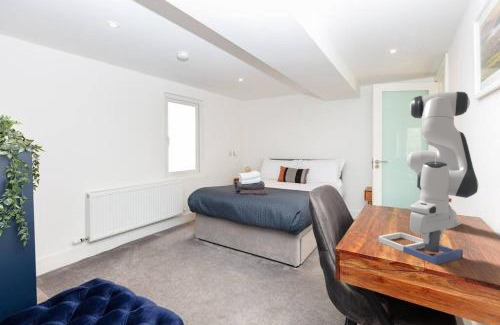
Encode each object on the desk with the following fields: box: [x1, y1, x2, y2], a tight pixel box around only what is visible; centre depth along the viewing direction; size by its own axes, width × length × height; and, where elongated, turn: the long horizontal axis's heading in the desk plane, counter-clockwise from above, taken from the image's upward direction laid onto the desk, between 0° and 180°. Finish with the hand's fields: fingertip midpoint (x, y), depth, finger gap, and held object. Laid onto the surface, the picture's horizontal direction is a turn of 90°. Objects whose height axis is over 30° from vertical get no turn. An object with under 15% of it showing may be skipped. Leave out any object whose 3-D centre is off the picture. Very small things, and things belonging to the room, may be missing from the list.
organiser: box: [376, 231, 464, 265], centre depth 101 cm, size 15×24×3 cm, turn 23°
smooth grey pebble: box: [423, 230, 441, 254], centre depth 95 cm, size 4×4×8 cm
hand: (431, 242), depth 95 cm, fingers closed on smooth grey pebble, 4 cm apart
